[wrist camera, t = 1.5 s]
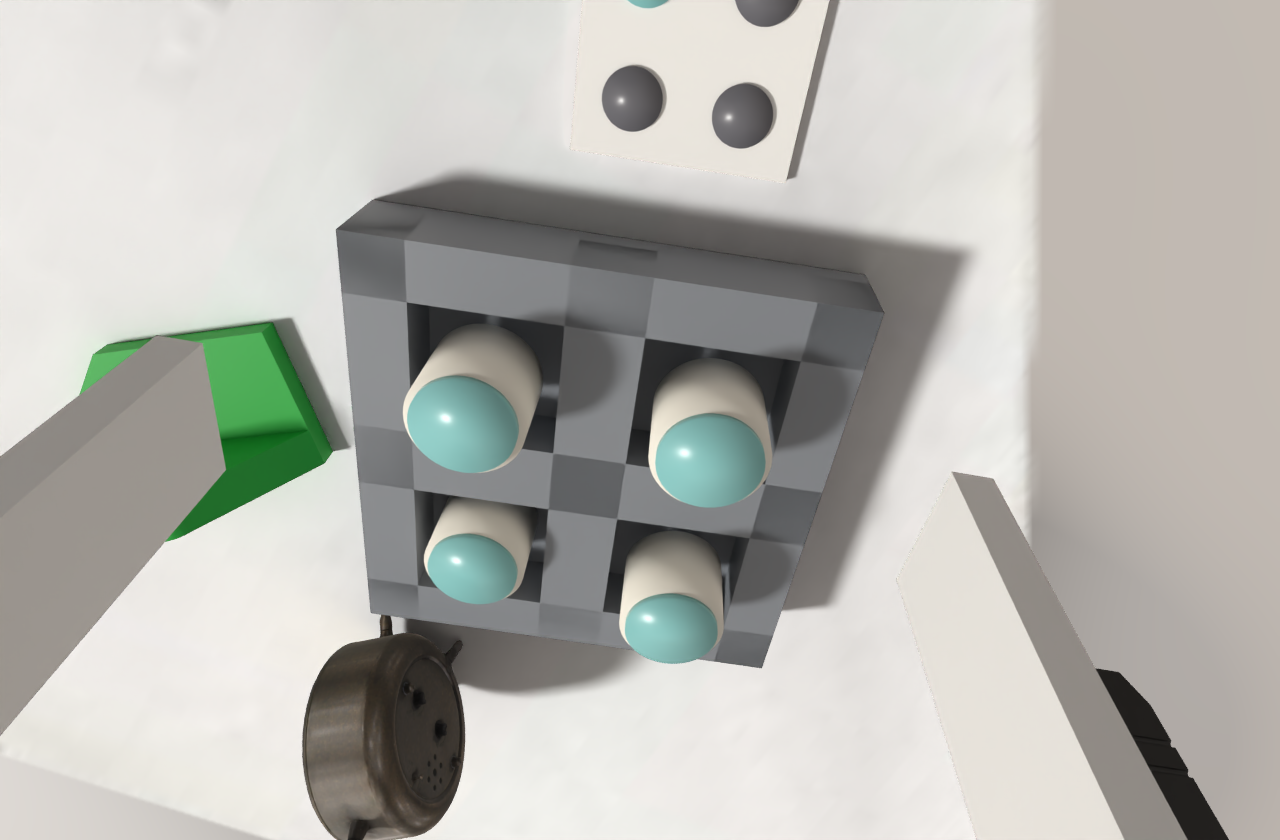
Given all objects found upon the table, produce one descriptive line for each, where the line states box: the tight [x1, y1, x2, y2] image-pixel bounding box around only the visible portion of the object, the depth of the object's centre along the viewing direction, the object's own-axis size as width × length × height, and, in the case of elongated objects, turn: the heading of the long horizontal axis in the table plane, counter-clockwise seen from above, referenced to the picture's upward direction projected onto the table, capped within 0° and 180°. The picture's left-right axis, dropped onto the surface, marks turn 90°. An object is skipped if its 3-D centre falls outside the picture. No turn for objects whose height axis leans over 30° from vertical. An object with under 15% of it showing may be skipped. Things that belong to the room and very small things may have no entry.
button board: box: [336, 200, 884, 668], centre depth 37 cm, size 22×22×4 cm
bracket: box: [80, 323, 333, 542], centre depth 37 cm, size 12×8×7 cm, turn 99°
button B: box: [619, 531, 724, 664], centre depth 37 cm, size 5×5×4 cm
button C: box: [403, 324, 543, 473], centre depth 32 cm, size 5×5×4 cm
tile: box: [570, 0, 829, 183], centre depth 28 cm, size 9×9×1 cm
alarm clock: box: [302, 615, 465, 840], centre depth 42 cm, size 11×5×16 cm, turn 16°
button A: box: [648, 358, 772, 508], centre depth 32 cm, size 5×5×4 cm
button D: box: [424, 495, 538, 604], centre depth 39 cm, size 5×5×4 cm
